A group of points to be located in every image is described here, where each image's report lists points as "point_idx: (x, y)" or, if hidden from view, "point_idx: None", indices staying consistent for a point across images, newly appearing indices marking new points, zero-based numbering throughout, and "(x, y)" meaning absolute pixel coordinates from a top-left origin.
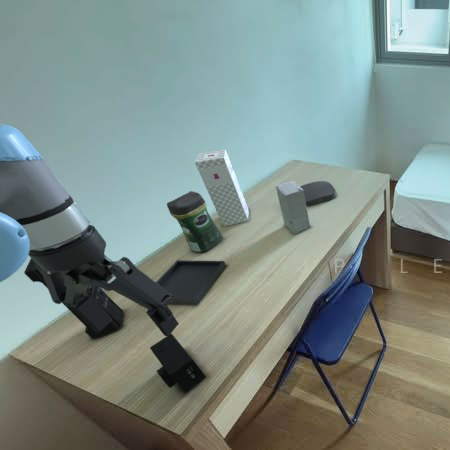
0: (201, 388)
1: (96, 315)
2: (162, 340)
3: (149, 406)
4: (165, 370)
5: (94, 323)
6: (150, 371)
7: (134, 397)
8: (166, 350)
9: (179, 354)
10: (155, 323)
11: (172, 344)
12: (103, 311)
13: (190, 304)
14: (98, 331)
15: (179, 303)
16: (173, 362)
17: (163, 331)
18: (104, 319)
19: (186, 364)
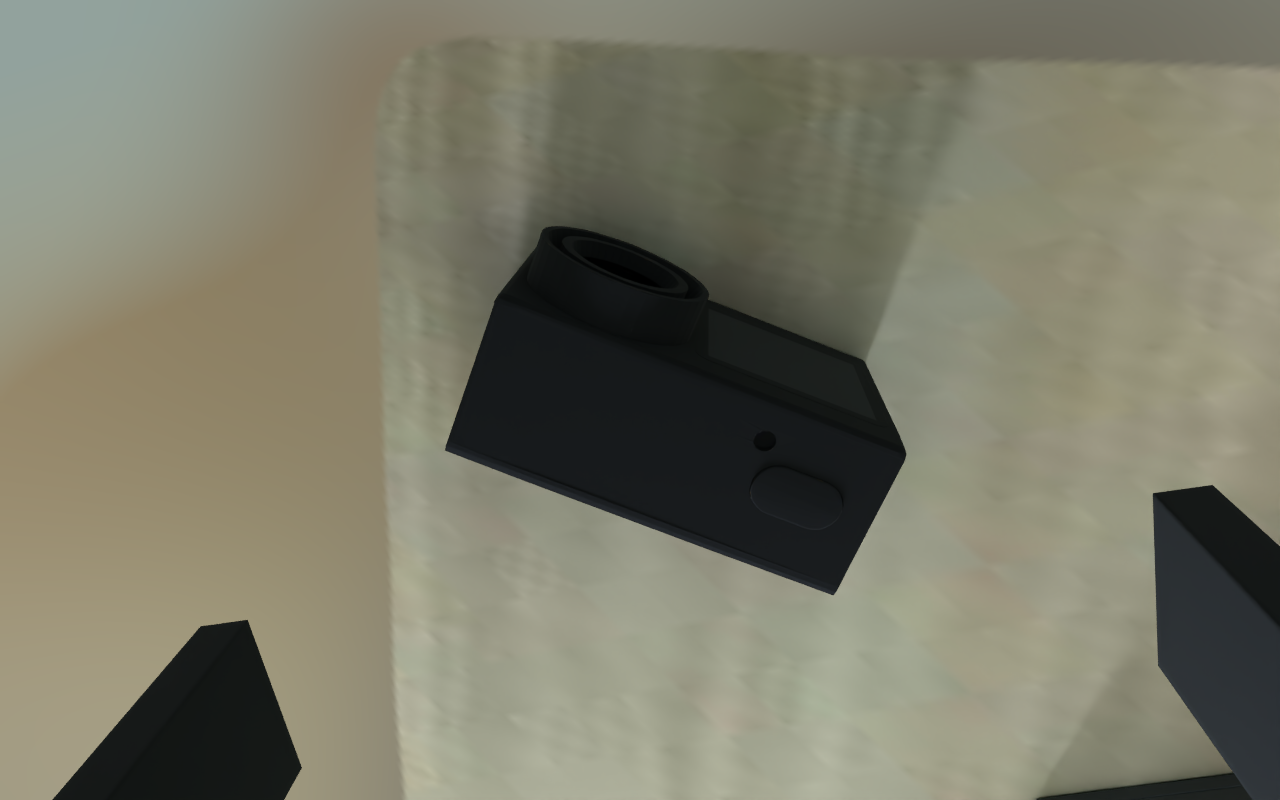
0: (468, 292)
1: (1269, 716)
2: (851, 527)
3: (722, 94)
4: (583, 320)
5: (1228, 591)
6: (944, 299)
7: (892, 114)
8: (730, 462)
9: (585, 458)
10: (105, 788)
11: (728, 516)
12: (1253, 781)
13: (1089, 795)
14: (1175, 492)
15: (1185, 789)
16: (570, 391)
17: (178, 677)
18: (1199, 660)
19: (460, 403)
